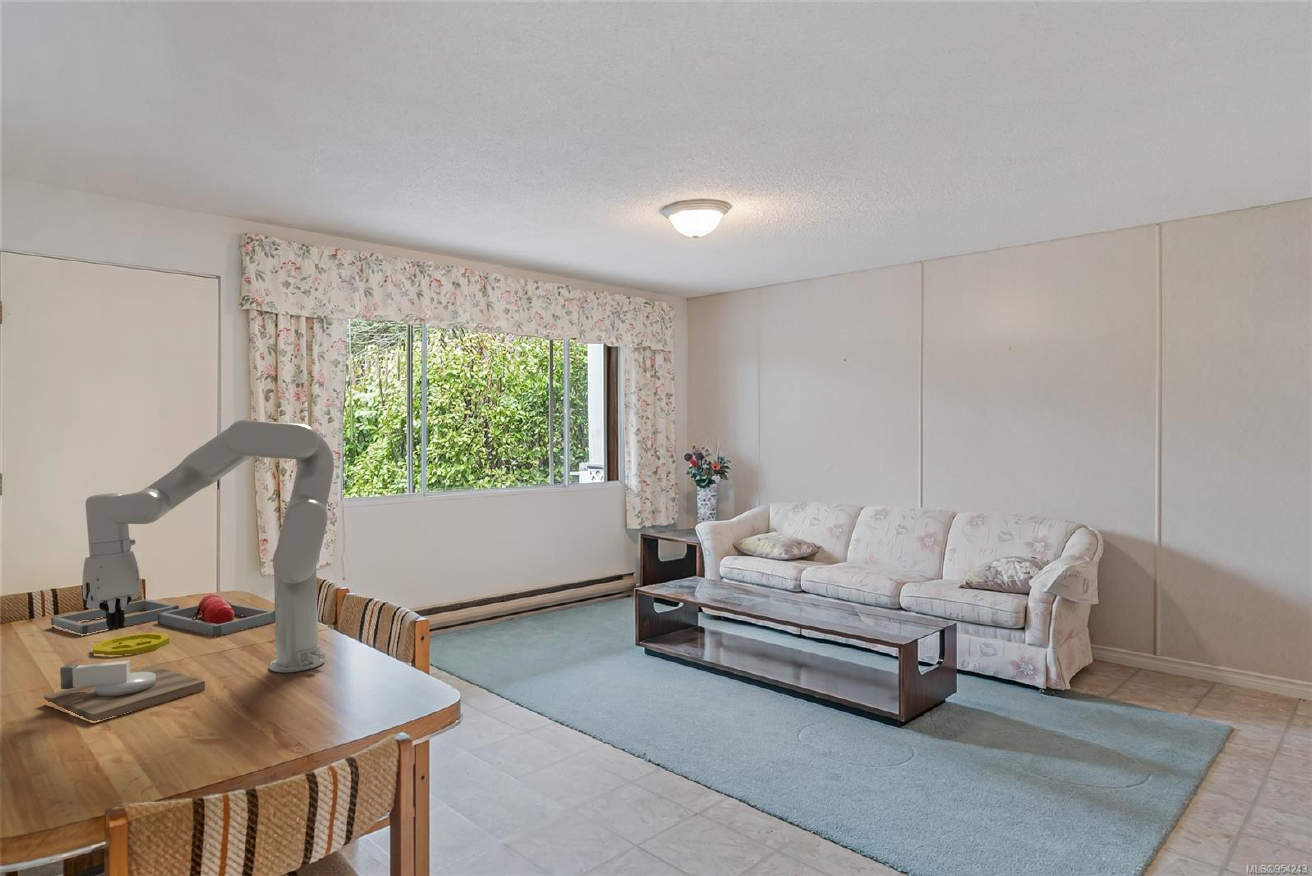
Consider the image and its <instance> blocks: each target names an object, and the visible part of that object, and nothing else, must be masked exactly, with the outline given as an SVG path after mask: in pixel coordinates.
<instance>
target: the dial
mask: <svg viewBox="0 0 1312 876" xmlns="http://www.w3.org/2000/svg"><path fill="white" fill-rule="evenodd" d="M59 671H60V672H59V673H60V675H59V676H60V689H61V690H67V689H71V688H75V687H79V686H88V685H95V694H96V695H98V696H119V695H126V694H131V693H135V692H139V691H142V690H145V689H148V688H150V687H152V686H153V685H155V683H156V674H155V673H152V672H134V671H133V672H134V673H131V660H122V661H111V662H110V661H109V662H100V663H92V664H91V663H90V664H82V665H81V664H80V665H78V664H68V665H64V666H63V665H62V666H61V667H60V668H59Z"/></svg>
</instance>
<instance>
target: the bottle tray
mask: <svg viewBox="0 0 1312 876" xmlns="http://www.w3.org/2000/svg"><path fill="white" fill-rule="evenodd" d="M230 603H231V605H232V606H231V607H233V611H234V616H239V615H243V616H246V617H243V616H242V617H243V618H239V619H235V620H233V621H230V622H226V623H222V624H214V623H210V622H205V620H200V619H194V618H193V617H192V616H194V614H195V610H196V609H198V608H199V604H197V605H196V604H195V605H191V606H186V607H182V608H179V609H176V610H171V611H167V612H162V613H158V620H157V624H159V625H163V626H168V627H173V628H177V629H182V630H187V631H189V630H190V632H195V633H199V634H202V635H203V634H204V635H207V634H208V635H207V636H211V635H212V636H211V637H215V636H216V637H215V638H217V637H220V635H221V636H224V635H223V634H225V635H229V634H233V633H236V631H237V632H240V631H239V630H241V631H243V630H242V629H245V630H247V629H248V628H249V629H252V628H251V627H253V628H256V627H255V626H257V627H259V626H258V625H260V626H263V625H264V626H265V625H268V624H271V623H275V610H270V609H266V608H260V607H255V606H250V605H244V604H239V603H234V602H230ZM227 604H228V605H230V604H229V603H227ZM196 615H197V614H196ZM200 615H201V614H198V616H200ZM192 618H193V619H192Z"/></svg>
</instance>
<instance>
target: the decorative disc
mask: <svg viewBox="0 0 1312 876" xmlns="http://www.w3.org/2000/svg"><path fill="white" fill-rule="evenodd" d="M167 644H168V645H170V636H169V635H168V633H166V632H165V633H161V632H154V631H153V632H144V633H143V632H141V633H136V634H135V633H133V634H132V633H131V634H127V635H121V636H118V637H112V638H108V639H105V640H102V641H101V642H98V643H95V644H93V645H92V651H94V653H95V654H104V655H125V654H137V653H141V654H143V653H142V652H145V653H149V652H153V651H152V650H154V651H157V650H156V649H158V650H160V649H161V648H160V647H162V648H163V646H164V647H165V645H166V646H168V645H167ZM103 647H108V648H107V649H104V648H103ZM110 647H111V648H110ZM159 648H160V649H159ZM94 653H93V654H94ZM137 655H138V654H137Z"/></svg>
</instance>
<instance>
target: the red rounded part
mask: <svg viewBox="0 0 1312 876" xmlns="http://www.w3.org/2000/svg"><path fill="white" fill-rule="evenodd" d="M227 603H229V604H230V605H228V604H227ZM231 603H232V602H230V601H227V600H226V599H225V598H224V597H223V596H221V595H218V594H208V595H207V596H203V597H202V599H201V601H200V602H198V605H199V608H198V609H196V610H195V614H194V616H193V617H191V619H194V618H195V619H196V620H198V616H199V615H198V614H201V618H202V619H203V621H205V622H210V623H214V624H222V623H226V622H230V621H234V619H235V615H234V611H233V607H231V606H232V605H231ZM196 614H197V615H196ZM195 615H196V616H195Z"/></svg>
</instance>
